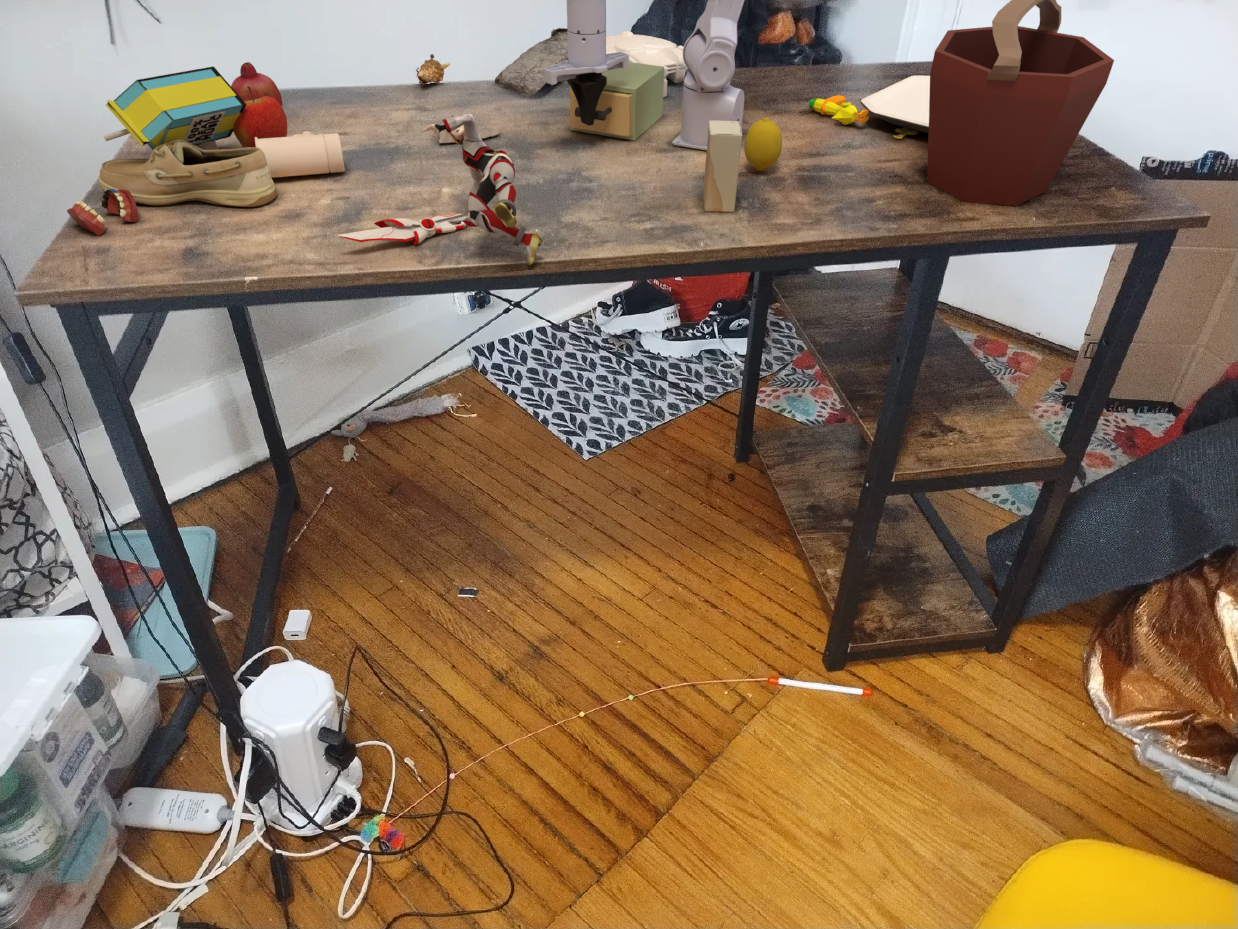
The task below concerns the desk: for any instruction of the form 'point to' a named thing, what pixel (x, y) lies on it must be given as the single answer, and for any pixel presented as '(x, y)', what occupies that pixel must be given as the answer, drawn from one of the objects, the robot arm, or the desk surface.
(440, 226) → the anime character
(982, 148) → the bucket
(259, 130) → the apple
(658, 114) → the cabinet
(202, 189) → the boat shoe
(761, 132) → the lemon
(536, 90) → the stone
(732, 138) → the box
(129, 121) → the carton
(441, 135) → the arrowhead
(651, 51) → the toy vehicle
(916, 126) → the plate
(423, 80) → the figurine
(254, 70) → the fruit
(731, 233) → the desk surface
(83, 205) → the dental model
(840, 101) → the toy figure
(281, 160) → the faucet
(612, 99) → the drawer
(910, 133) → the decorative knife
